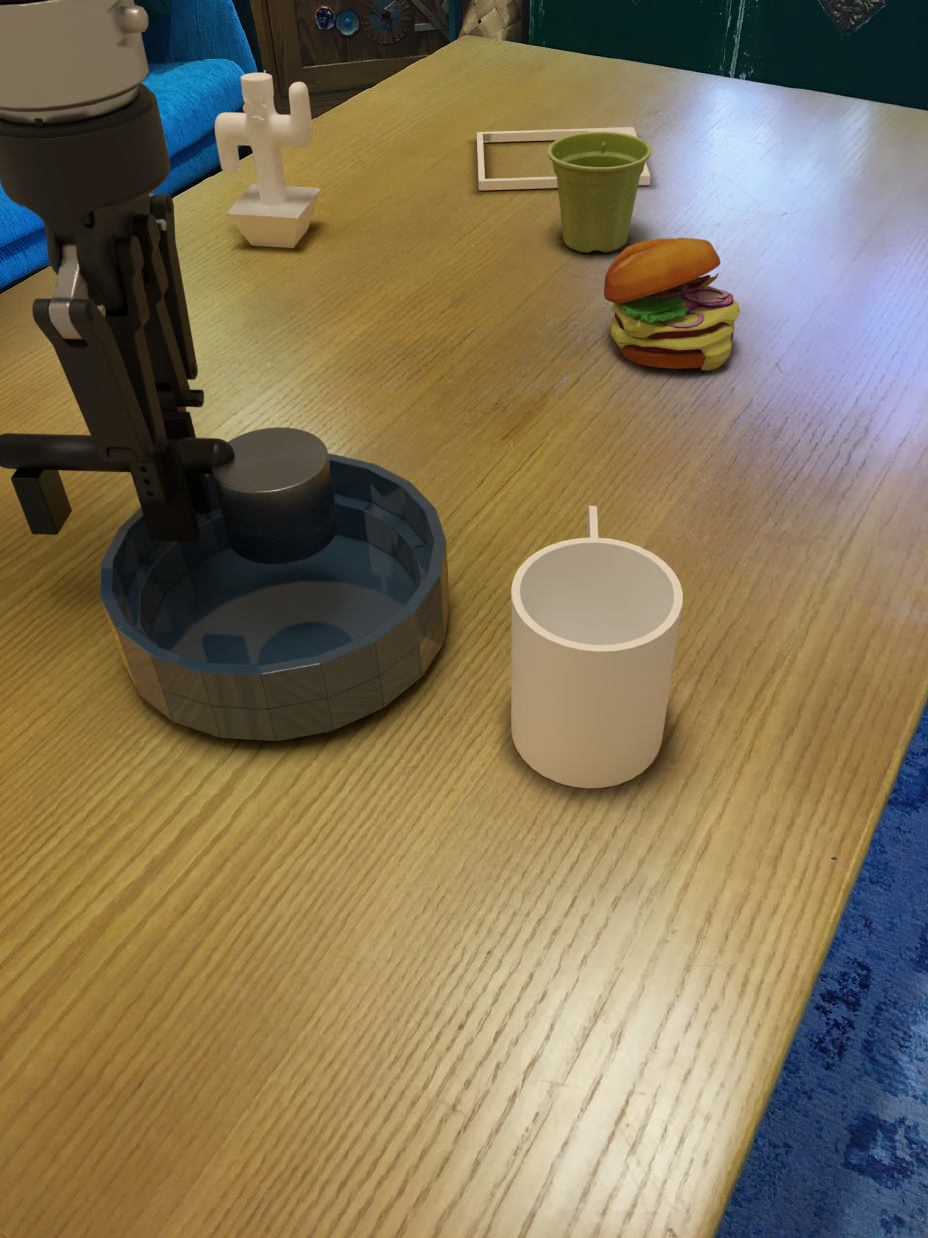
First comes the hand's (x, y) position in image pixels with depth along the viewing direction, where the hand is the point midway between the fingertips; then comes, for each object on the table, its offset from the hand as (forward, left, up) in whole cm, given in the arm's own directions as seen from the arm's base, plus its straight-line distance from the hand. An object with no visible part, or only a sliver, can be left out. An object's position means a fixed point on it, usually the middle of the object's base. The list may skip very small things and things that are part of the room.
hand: (182, 522), depth 62 cm
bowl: (+6, -2, -6) cm, 9 cm away
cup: (+24, -7, -6) cm, 26 cm away
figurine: (-7, +53, -6) cm, 54 cm away
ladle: (0, 0, 0) cm, 0 cm away
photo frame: (+20, +73, -6) cm, 76 cm away
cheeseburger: (+30, +33, -6) cm, 45 cm away
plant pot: (+24, +53, -6) cm, 59 cm away
